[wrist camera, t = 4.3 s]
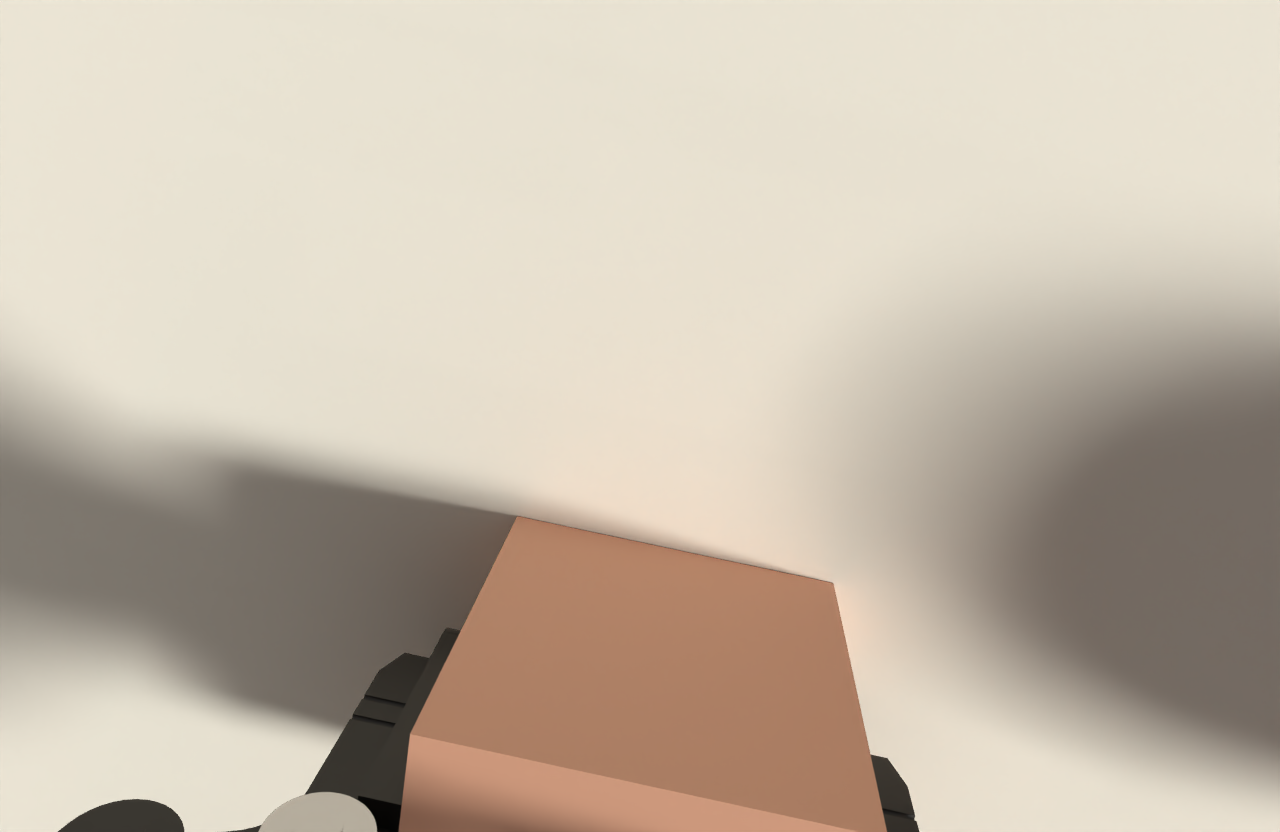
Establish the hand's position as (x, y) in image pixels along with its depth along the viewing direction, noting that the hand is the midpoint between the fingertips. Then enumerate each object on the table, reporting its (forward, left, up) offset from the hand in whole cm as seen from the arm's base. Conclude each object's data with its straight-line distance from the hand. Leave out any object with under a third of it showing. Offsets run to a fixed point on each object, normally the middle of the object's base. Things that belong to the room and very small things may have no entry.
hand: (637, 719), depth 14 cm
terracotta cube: (0, 0, -1) cm, 1 cm away
